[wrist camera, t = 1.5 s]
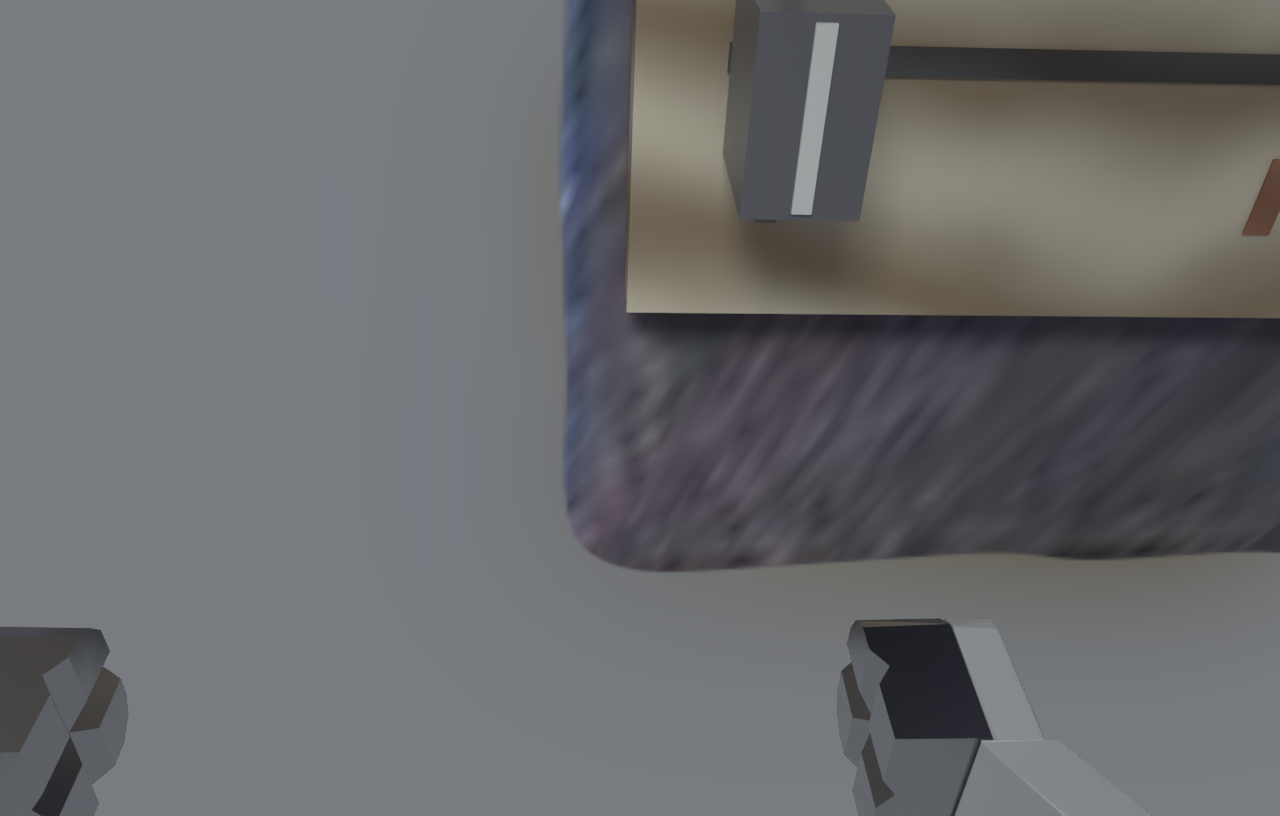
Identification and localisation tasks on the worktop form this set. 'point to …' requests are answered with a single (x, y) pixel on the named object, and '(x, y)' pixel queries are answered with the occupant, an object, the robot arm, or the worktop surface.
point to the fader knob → (804, 105)
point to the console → (983, 167)
